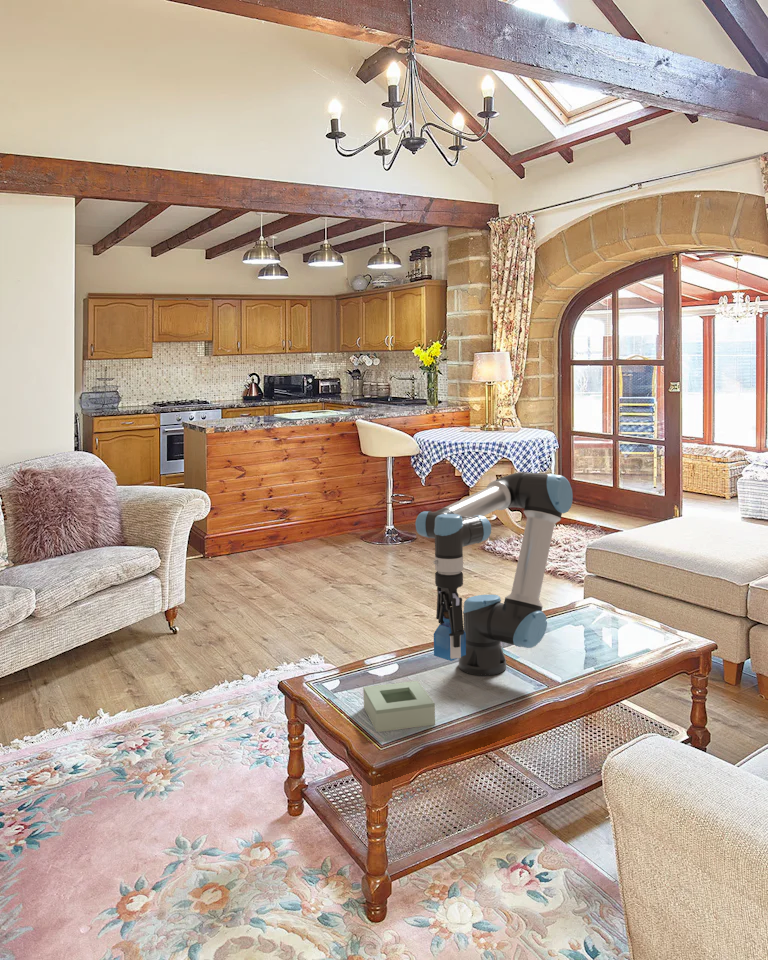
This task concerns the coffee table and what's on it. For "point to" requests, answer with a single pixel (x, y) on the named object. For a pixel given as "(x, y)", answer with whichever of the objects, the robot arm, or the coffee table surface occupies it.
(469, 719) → the coffee table surface
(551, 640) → the coffee table surface
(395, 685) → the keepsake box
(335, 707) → the coffee table surface
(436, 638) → the perfume bottle
